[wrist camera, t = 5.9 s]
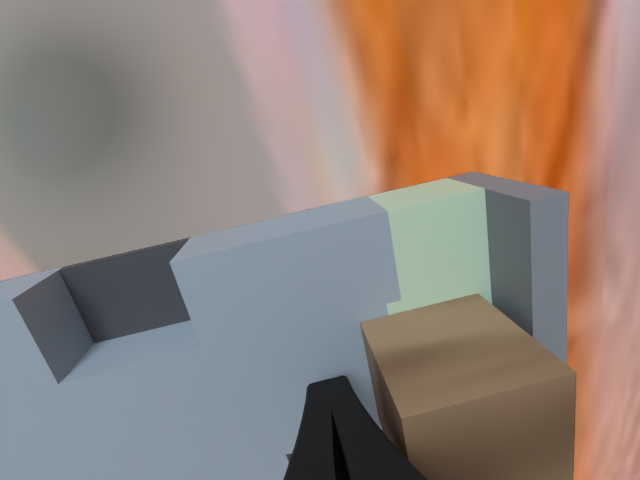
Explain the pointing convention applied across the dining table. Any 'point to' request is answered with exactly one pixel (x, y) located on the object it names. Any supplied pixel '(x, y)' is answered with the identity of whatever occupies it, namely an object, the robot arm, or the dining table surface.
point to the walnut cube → (471, 393)
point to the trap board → (255, 327)
